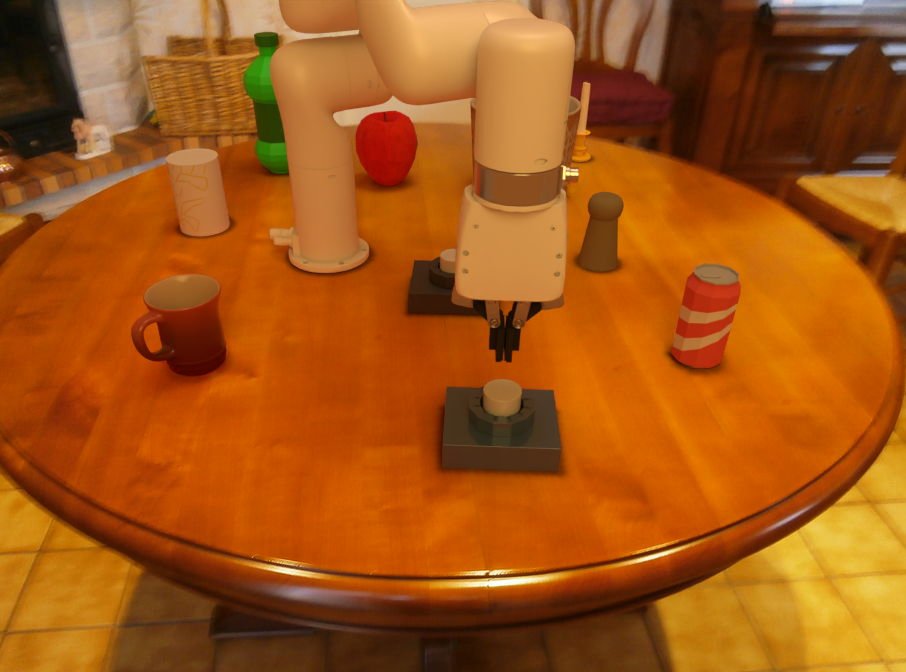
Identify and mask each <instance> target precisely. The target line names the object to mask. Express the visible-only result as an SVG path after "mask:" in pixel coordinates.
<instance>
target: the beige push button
mask: <svg viewBox="0 0 906 672" xmlns="http://www.w3.org/2000/svg"><path fill="white" fill-rule="evenodd" d="M483 386H484V388H483V408H484V410H485V411H486V412H487V413H490V414H492V415H495V416H511V415H514V414H516V413H518V412H519V410H520V408H521V397H522V389H521V388H522V387H521V386H520V384H519V383H517V382H516V381H513V380H511V379H507V378H495V379H492V380H489V381H488V382H486V383H485V384H484V385H483Z"/></svg>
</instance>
